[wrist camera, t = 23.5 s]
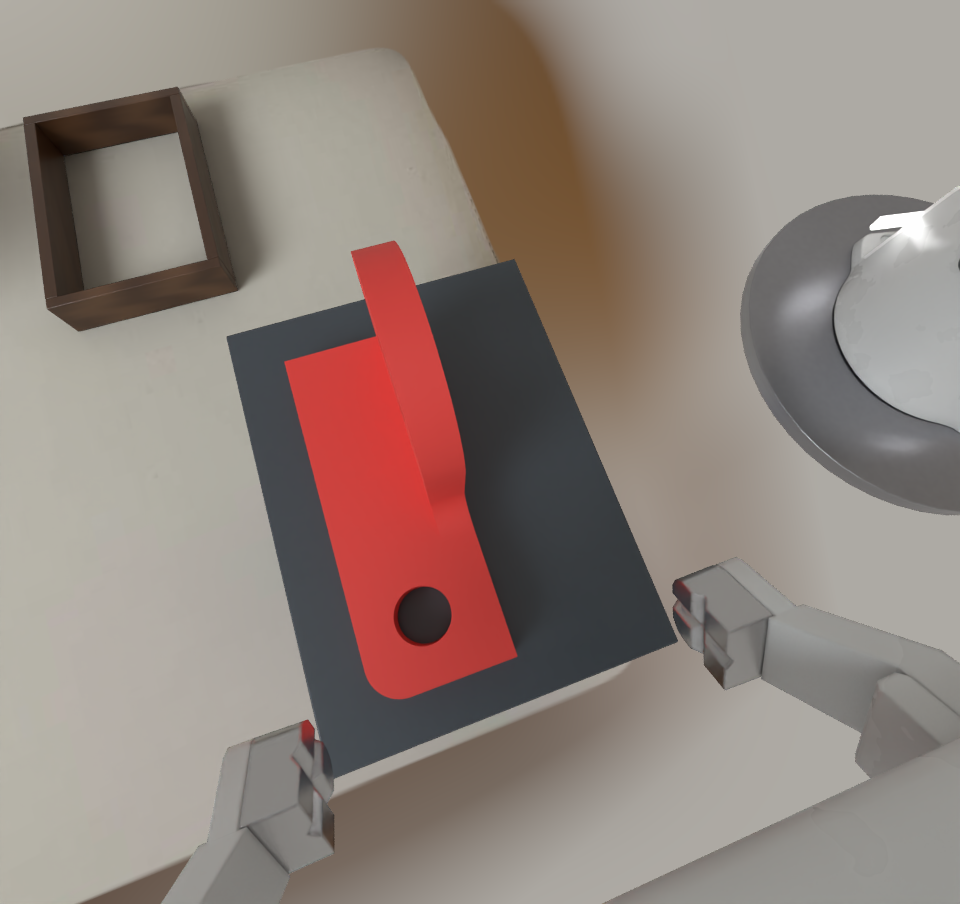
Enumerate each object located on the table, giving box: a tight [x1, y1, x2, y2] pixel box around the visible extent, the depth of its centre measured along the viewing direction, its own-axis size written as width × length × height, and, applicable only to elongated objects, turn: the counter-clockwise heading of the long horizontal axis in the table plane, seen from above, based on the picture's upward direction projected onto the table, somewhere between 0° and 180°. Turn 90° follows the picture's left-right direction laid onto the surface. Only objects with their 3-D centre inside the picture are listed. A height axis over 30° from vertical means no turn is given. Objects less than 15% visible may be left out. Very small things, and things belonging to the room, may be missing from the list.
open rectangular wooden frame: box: [23, 87, 238, 331], centre depth 38 cm, size 12×18×3 cm, turn 19°
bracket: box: [284, 241, 518, 699], centre depth 14 cm, size 12×4×8 cm, turn 19°
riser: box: [227, 259, 678, 779], centre depth 26 cm, size 12×16×16 cm
